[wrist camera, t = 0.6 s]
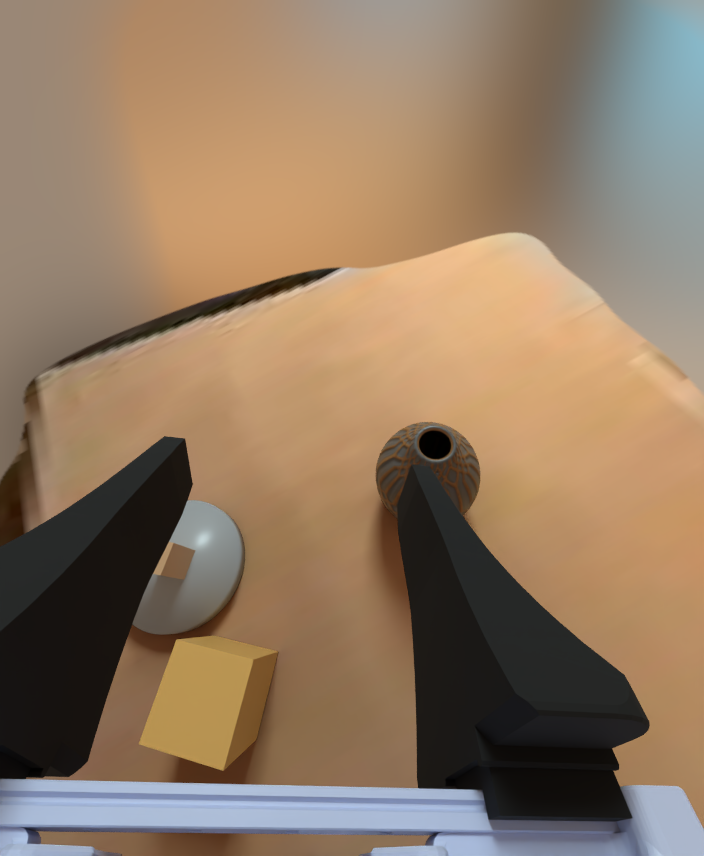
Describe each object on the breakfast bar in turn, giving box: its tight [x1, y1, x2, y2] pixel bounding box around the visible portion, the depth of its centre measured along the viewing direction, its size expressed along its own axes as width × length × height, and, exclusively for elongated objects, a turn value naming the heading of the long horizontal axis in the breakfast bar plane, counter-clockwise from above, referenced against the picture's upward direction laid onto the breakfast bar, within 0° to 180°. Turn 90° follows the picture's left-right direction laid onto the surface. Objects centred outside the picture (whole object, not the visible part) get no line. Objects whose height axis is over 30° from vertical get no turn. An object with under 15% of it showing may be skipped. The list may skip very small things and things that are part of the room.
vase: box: [376, 422, 480, 519], centre depth 24 cm, size 7×7×9 cm
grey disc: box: [132, 500, 245, 634], centre depth 25 cm, size 9×9×4 cm
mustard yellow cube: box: [139, 636, 278, 771], centre depth 21 cm, size 5×5×5 cm
